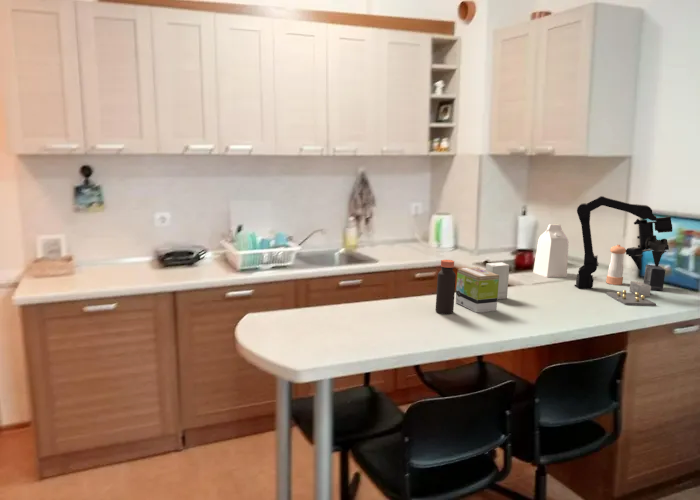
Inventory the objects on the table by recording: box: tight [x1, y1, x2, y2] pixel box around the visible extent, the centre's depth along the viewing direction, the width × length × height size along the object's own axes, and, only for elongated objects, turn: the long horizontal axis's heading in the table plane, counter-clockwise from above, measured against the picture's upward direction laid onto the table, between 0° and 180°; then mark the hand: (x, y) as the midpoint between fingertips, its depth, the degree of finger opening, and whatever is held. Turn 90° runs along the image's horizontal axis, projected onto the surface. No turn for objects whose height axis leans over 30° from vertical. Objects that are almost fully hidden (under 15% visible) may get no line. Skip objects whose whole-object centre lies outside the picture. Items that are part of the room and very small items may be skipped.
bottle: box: [435, 259, 457, 315], centre depth 226 cm, size 7×7×20 cm
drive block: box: [628, 280, 652, 298], centre depth 269 cm, size 5×9×5 cm, turn 0°
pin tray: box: [606, 289, 657, 307], centre depth 257 cm, size 13×18×3 cm
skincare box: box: [485, 261, 510, 300], centre depth 251 cm, size 8×6×15 cm
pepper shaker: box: [605, 244, 627, 286], centre depth 289 cm, size 7×7×19 cm
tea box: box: [455, 266, 499, 313], centre depth 235 cm, size 15×10×15 cm
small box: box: [642, 264, 666, 292], centre depth 282 cm, size 11×6×10 cm, turn 168°
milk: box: [532, 223, 569, 278], centre depth 304 cm, size 12×12×26 cm
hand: (648, 268), depth 266 cm, fingers open, 9 cm apart
